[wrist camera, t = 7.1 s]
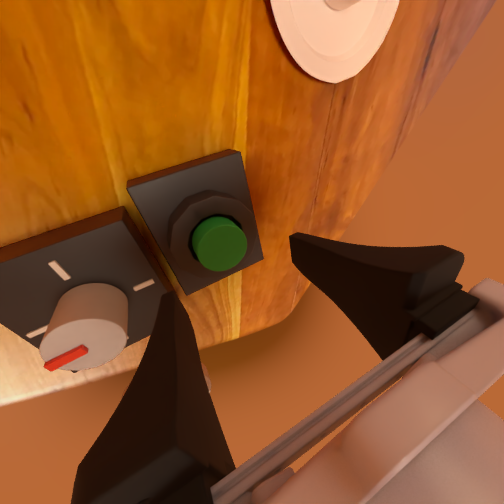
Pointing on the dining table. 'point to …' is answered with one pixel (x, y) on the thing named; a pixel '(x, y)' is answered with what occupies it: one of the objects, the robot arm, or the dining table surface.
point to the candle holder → (333, 33)
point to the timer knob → (86, 328)
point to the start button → (219, 243)
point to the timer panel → (80, 273)
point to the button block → (196, 212)
